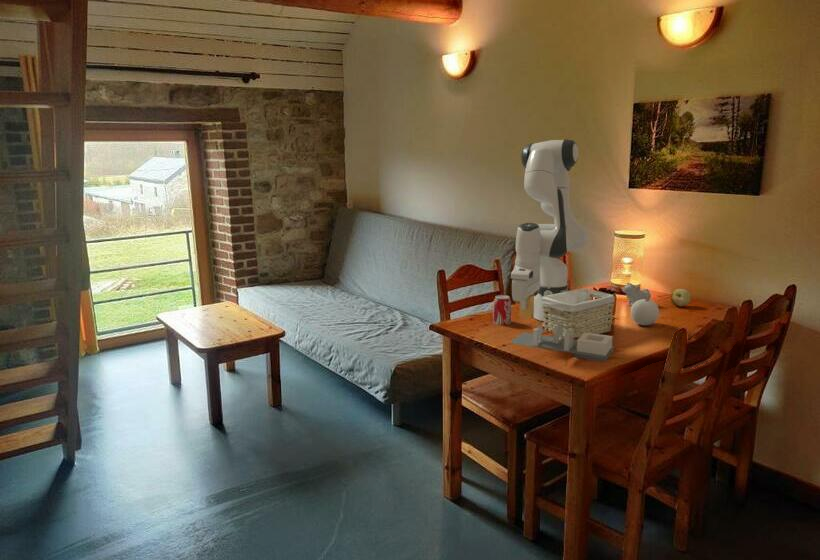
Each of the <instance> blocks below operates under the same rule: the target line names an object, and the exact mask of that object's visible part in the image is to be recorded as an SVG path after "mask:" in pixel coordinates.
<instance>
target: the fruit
mask: <svg viewBox="0 0 820 560" xmlns="http://www.w3.org/2000/svg"><path fill="white" fill-rule="evenodd" d="M691 297H692V296H691V294H690V292H689V291H688V290H687V289H684V288H676V289H674V290H672V292H671V294H670V301H671V303H672V305H674V306H675V307H679V308H680V307H684V306H686V305H688V304H689V302H690V301H691V299H692V298H691Z"/></svg>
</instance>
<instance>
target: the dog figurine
mask: <svg viewBox="0 0 820 560" xmlns="http://www.w3.org/2000/svg"><path fill="white" fill-rule="evenodd" d="M621 291H622V292H623V293H625V294H626V295H625V296H626V298H627V300H628V301H627V306H628V307H629V306H631V307H630V309H631V308H632V306H633V304H634V303H635V302H636V301H638V300H642V299H646V295H647V296H649V300H651V297H652V295H651V292H650V290H649V289H648V288H643V289H641V287H640V286H639V285H636V286H635V285H634V284H632V283H630V282H626V285H624V286H622V287H621Z"/></svg>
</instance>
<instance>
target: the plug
mask: <svg viewBox="0 0 820 560" xmlns="http://www.w3.org/2000/svg"><path fill="white" fill-rule="evenodd" d="M534 297H535V294H534V295H533V294H532V295H530V296H529V297H528V298H527V300H526V304H527V309H525V310H524V309H521V303H520V301H517V302H519V310H518V311H519V312H518V314H519V316H518V317H519V318H521V319H528V320H530V319H532V318H534V317H533V316H534ZM512 301H513V302H516V301H515V300H513V299H512Z"/></svg>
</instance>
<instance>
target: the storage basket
mask: <svg viewBox="0 0 820 560" xmlns="http://www.w3.org/2000/svg"><path fill="white" fill-rule="evenodd" d="M591 297H592V298H595V299H592V300H591ZM615 300H616V299H615V295H614V294H611V293H607V292H604V291H600V290H599V291H598V290H594V289H590V288H584V287H583V288H579V289H578V288H577V289H573V290H568V291H567V292H563V293H558V294H552V295H547V296H543V297H542V306H543V312H544V313H543V315H544V321H543V324H544V325H543V326H544V330H545V331H549V332H551V333H554V326H558V323H563V337H565V333H566V332H567V333H568V330H569V329H574V339H575V338H578V339H579V338H580V337H581V336H582V335H583V333H584V332H585V333H593V334H600V335H603V334H605V333H608V332H611V327H612V320H613V311H614V306H615Z"/></svg>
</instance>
